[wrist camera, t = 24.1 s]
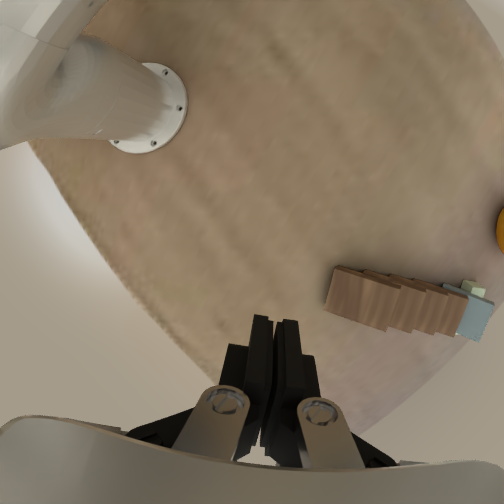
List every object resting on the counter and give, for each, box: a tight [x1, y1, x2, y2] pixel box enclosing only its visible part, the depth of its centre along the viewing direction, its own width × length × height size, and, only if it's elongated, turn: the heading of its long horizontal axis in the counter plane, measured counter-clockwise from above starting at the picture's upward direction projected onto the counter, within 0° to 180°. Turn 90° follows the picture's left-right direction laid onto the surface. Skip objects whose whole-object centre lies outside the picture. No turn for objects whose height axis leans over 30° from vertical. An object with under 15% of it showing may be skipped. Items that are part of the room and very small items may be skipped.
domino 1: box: [324, 266, 401, 332], centre depth 39 cm, size 2×6×9 cm
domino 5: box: [442, 283, 494, 342], centre depth 38 cm, size 2×6×9 cm
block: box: [455, 280, 486, 335], centre depth 40 cm, size 3×8×3 cm, turn 171°
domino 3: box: [389, 274, 449, 335], centre depth 39 cm, size 2×6×9 cm
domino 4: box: [413, 278, 469, 337], centre depth 39 cm, size 2×6×9 cm
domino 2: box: [363, 269, 426, 333], centre depth 39 cm, size 2×6×9 cm
